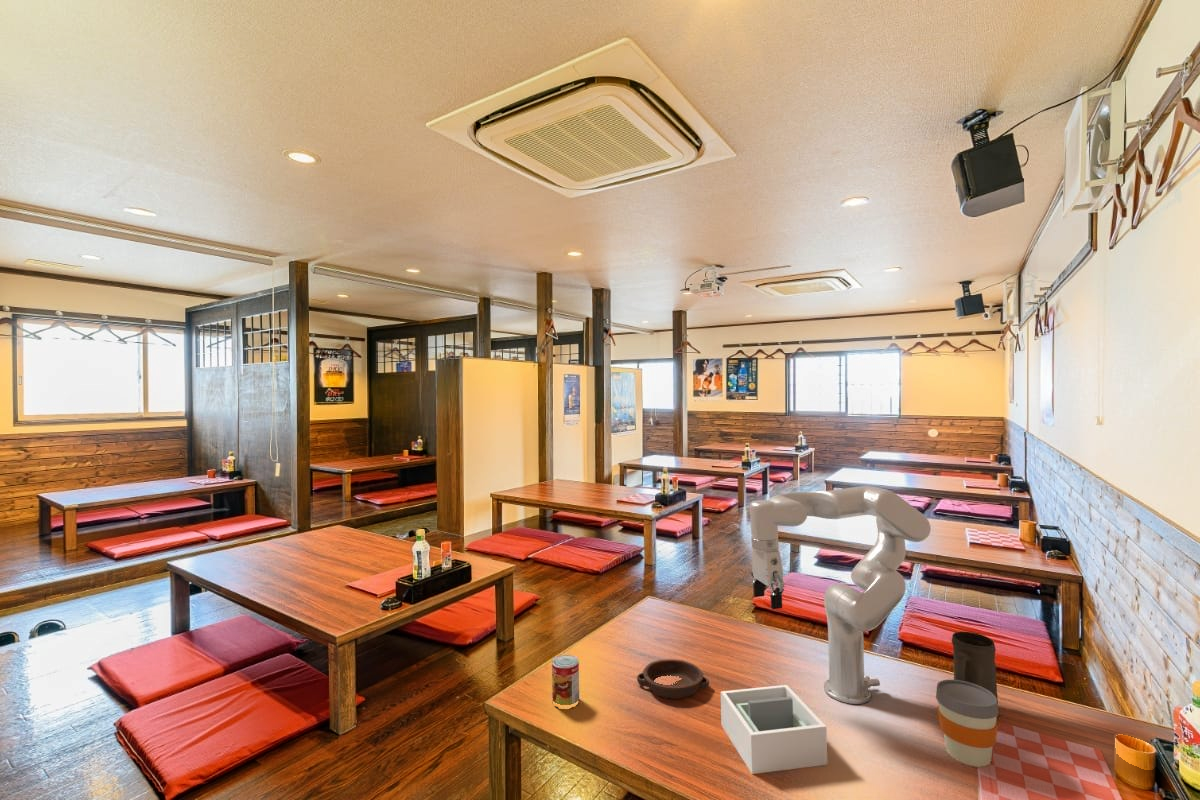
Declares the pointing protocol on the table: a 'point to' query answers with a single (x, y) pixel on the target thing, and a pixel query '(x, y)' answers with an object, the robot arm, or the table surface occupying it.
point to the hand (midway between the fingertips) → (767, 602)
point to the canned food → (565, 679)
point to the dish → (683, 669)
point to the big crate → (774, 733)
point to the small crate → (769, 714)
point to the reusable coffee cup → (967, 721)
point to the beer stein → (975, 660)
